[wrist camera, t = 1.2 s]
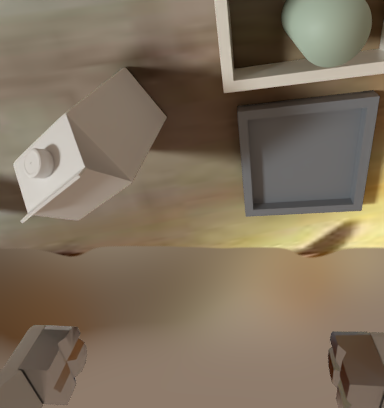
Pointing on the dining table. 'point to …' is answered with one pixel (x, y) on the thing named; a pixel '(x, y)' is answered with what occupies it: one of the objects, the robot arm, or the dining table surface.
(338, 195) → the tray
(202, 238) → the dining table surface
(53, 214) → the milk carton
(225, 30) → the white open box
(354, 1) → the dowel pin
